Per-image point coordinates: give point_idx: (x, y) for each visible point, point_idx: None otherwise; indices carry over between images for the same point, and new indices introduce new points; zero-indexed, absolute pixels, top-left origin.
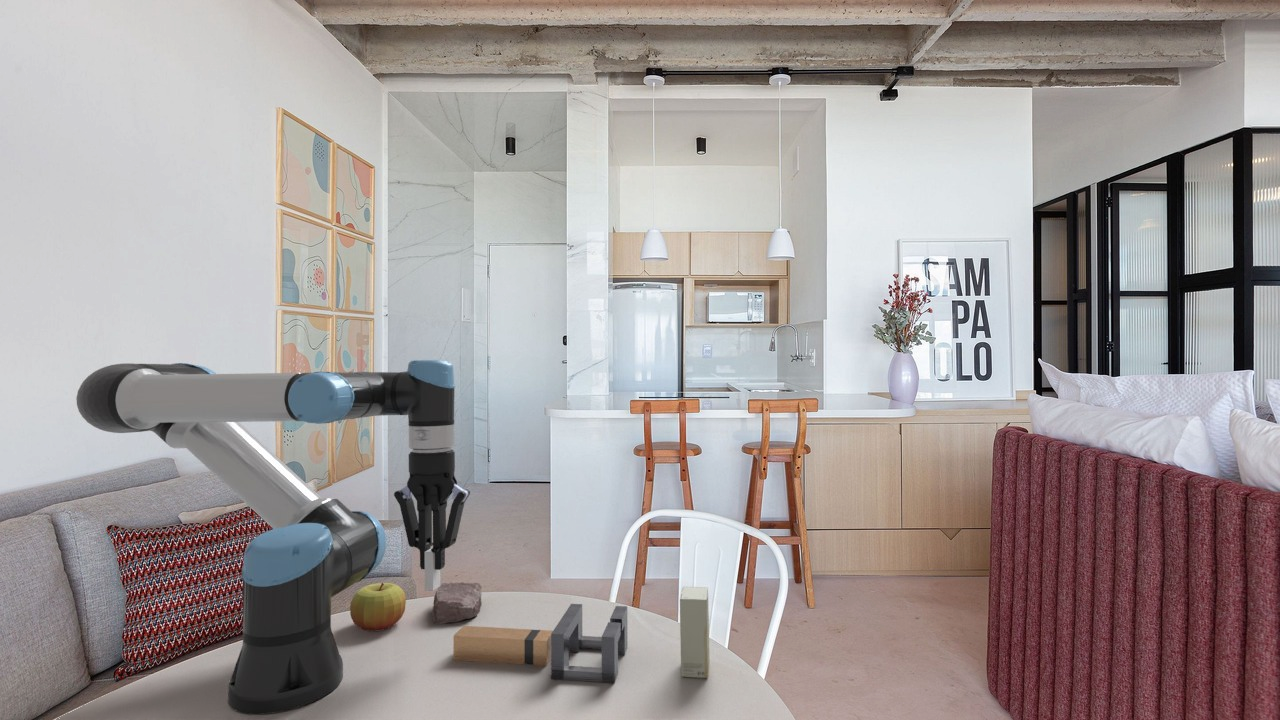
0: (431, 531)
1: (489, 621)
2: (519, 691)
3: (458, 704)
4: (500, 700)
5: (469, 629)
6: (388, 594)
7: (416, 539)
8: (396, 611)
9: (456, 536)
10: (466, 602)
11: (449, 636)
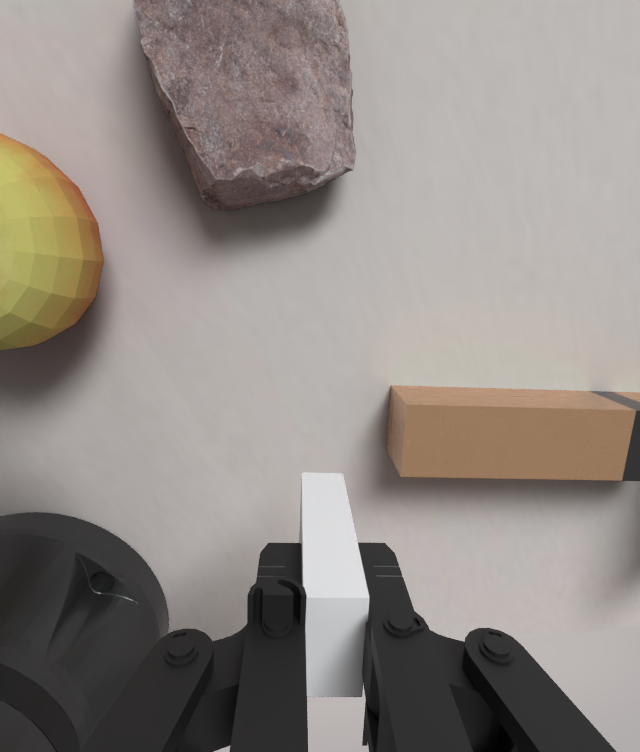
0: (306, 732)
1: (407, 172)
2: (586, 569)
3: (469, 628)
4: (553, 605)
5: (435, 429)
6: (23, 294)
7: (200, 747)
8: (91, 284)
9: (554, 693)
10: (322, 145)
11: (315, 306)
